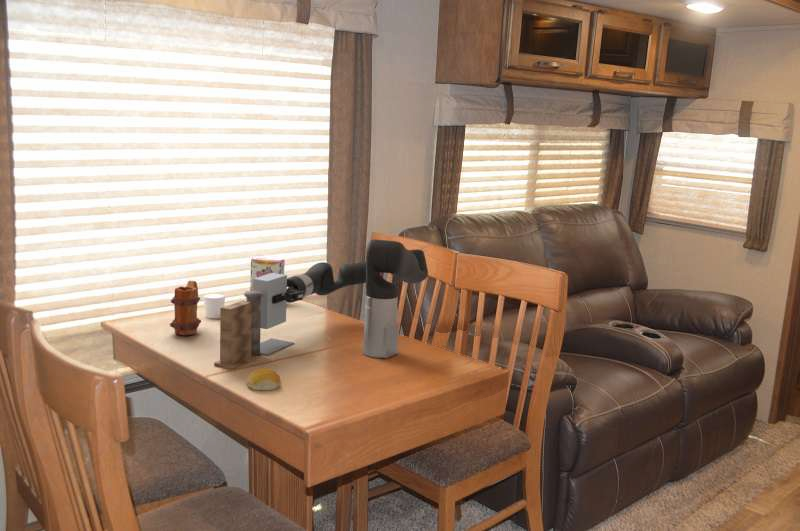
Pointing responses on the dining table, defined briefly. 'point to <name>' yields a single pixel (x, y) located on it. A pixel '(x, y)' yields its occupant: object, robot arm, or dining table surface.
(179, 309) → the mug
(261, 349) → the seat pad
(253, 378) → the bread roll
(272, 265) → the candy bar box
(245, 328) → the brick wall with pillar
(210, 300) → the beige cup
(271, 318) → the light grey block
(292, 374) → the dining table surface
